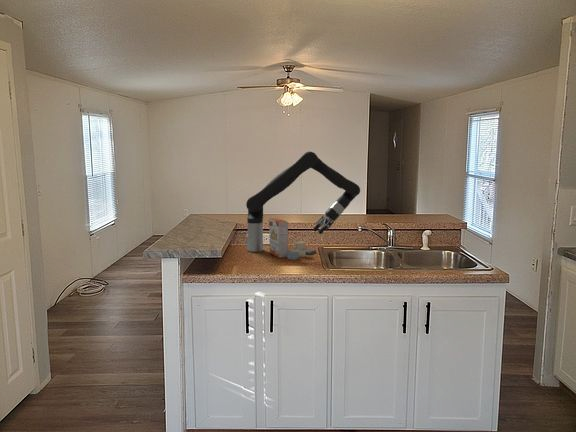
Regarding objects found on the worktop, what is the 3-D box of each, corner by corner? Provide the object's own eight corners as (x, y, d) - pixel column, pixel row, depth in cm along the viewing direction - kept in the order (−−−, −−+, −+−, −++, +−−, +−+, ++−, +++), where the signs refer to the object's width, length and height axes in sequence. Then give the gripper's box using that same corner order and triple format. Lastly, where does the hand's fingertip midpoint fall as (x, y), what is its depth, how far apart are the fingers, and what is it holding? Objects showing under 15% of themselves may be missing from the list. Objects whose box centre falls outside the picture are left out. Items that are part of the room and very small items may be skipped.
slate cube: (287, 258, 273) (287, 251, 273) (292, 257, 277) (292, 249, 276) (293, 259, 271) (293, 252, 270) (298, 258, 274) (298, 250, 274)
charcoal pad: (295, 253, 288) (295, 250, 288) (303, 250, 294) (303, 248, 294) (308, 255, 282) (308, 252, 282) (316, 252, 289) (316, 250, 289)
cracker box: (269, 253, 287) (268, 218, 284) (278, 252, 289) (278, 217, 286) (278, 258, 274) (278, 221, 271) (288, 257, 277) (288, 220, 274)
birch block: (294, 255, 282) (294, 241, 280) (302, 254, 283) (302, 241, 282) (297, 257, 277) (297, 243, 276) (305, 256, 278) (305, 242, 277)
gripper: (325, 205, 289) (307, 225, 287) (335, 208, 275) (316, 229, 273) (334, 214, 291) (316, 234, 289) (344, 217, 278) (325, 238, 276)
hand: (316, 231), depth 281 cm, fingers open, 8 cm apart
